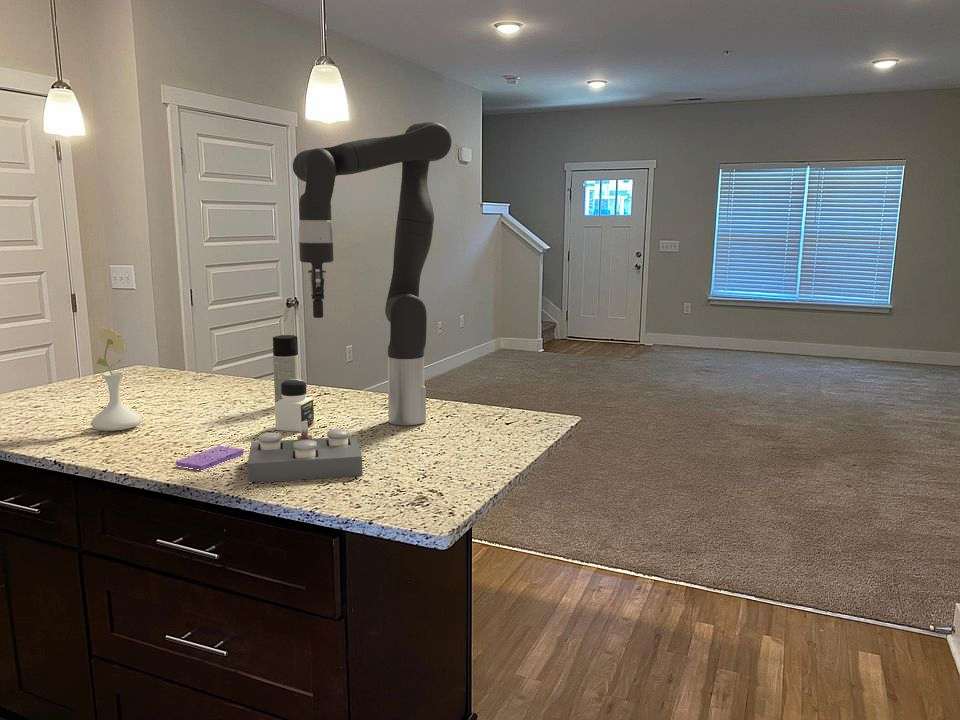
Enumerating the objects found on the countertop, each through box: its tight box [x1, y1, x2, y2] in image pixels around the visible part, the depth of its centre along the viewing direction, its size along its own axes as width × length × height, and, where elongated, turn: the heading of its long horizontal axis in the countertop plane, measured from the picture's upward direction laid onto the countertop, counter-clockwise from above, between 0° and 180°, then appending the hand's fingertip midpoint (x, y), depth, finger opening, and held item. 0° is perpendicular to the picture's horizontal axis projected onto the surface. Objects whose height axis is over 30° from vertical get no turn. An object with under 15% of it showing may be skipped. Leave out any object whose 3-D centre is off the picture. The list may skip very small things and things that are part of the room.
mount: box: [246, 435, 363, 483], centre depth 150 cm, size 22×15×4 cm
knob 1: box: [258, 432, 283, 450], centre depth 152 cm, size 5×5×6 cm
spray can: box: [272, 334, 300, 403], centre depth 200 cm, size 7×7×20 cm
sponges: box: [175, 445, 244, 470], centre depth 155 cm, size 7×13×2 cm, turn 156°
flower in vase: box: [90, 326, 143, 432], centre depth 177 cm, size 13×11×25 cm
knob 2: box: [326, 428, 350, 446], centre depth 155 cm, size 5×5×6 cm
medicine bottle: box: [274, 379, 315, 433], centre depth 180 cm, size 7×7×12 cm
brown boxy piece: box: [296, 421, 313, 441], centre depth 153 cm, size 3×3×5 cm
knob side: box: [293, 440, 317, 458], centre depth 147 cm, size 5×5×6 cm
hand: (318, 317), depth 166 cm, fingers closed
